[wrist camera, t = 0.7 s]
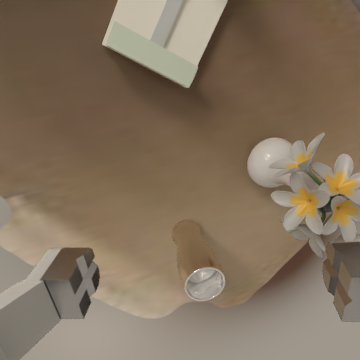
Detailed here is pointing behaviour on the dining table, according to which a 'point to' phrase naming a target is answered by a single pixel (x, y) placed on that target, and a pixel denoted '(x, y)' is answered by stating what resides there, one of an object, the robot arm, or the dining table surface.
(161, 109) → the dining table surface
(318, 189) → the flower vase
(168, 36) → the track
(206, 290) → the beer glass
